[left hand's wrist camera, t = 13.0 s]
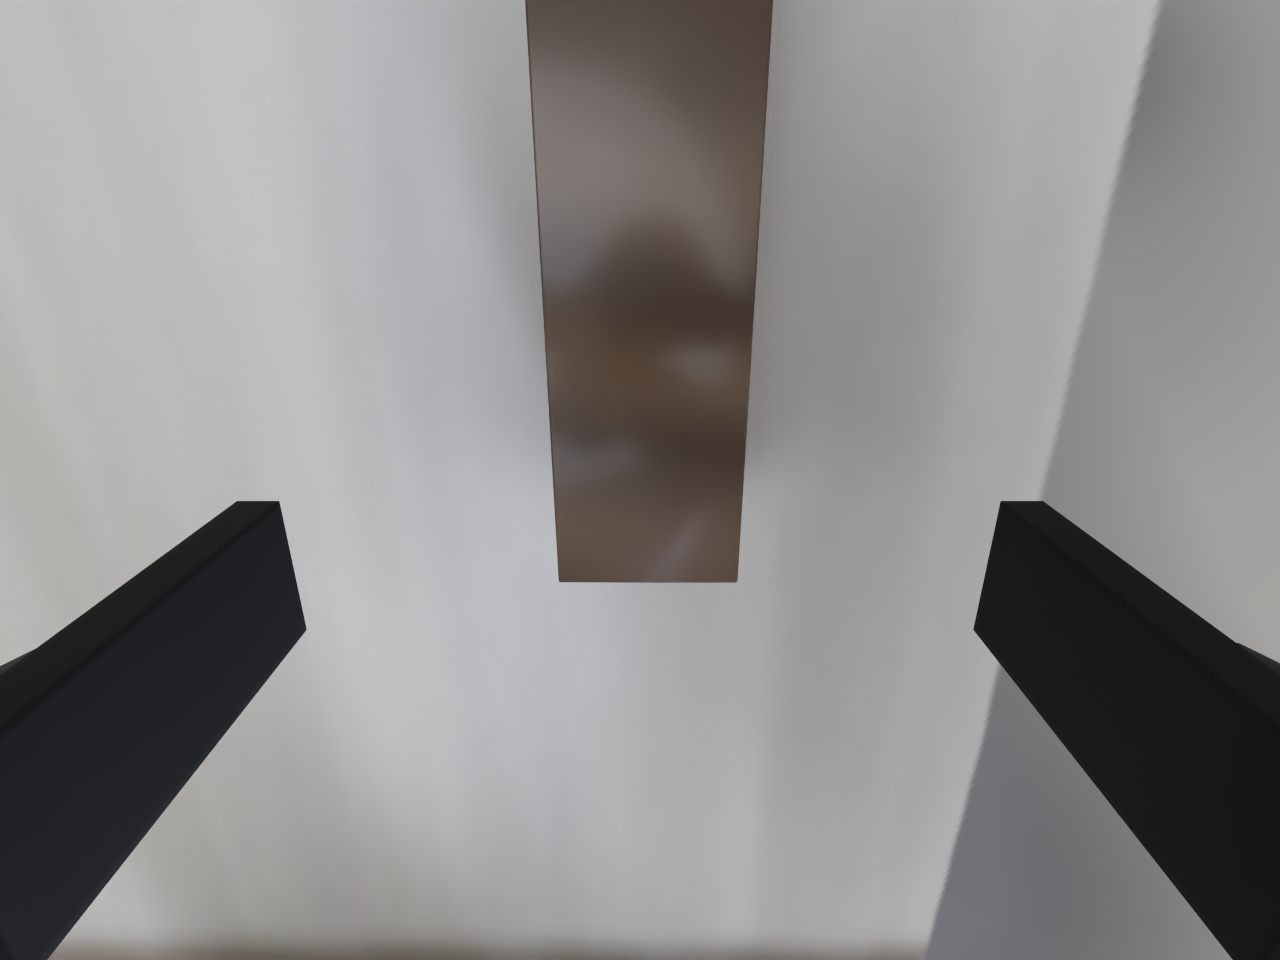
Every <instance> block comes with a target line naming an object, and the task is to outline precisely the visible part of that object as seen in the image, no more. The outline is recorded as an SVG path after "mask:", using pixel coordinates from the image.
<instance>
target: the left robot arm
mask: <svg viewBox="0 0 1280 960" xmlns="http://www.w3.org/2000/svg"><path fill="white" fill-rule="evenodd" d="M305 631H306V625H305V620H304V616H303V611H302V606H301V601H300V597H299V592H298V587H297V583H296V578H295V573H294V569H293V564H292V559H291V554H290V550H289V545H288V540H287V536H286V531H285V526H284V522H283V517H282V512H281V508H280V503H279V501H237V502H235V503H234V504H233V505H231V506H230V507H229V508H227V509H226V510H224V511H223V512H222V513H220V514H219V515H218V516H216V517H215V518H214V519H212V520H211V521H209V522H208V523H207V524H205V525H204V526H203V527H201V528H200V529H199V530H197V531H196V532H194V533H193V534H192V535H190V536H189V537H188V538H186V539H185V540H184V541H182V542H181V543H179V544H178V545H177V546H175V547H174V548H173V549H171V550H170V551H169V552H167V553H166V554H164V555H163V556H162V557H160V558H159V559H158V560H156V561H155V562H154V563H152V564H151V565H149V566H148V567H147V568H145V569H144V570H143V571H141V572H140V573H139V574H137V575H136V576H134V577H133V578H132V579H130V580H129V581H128V582H126V583H125V584H124V585H122V586H121V587H120V588H118V589H117V590H115V591H114V592H113V593H111V594H110V595H109V596H107V597H106V598H105V599H103V600H102V601H100V602H99V603H98V604H96V605H95V606H94V607H92V608H91V609H90V610H88V611H87V612H85V613H84V614H83V615H81V616H80V617H79V618H77V619H76V620H75V621H73V622H72V623H70V624H69V625H68V626H66V627H65V628H64V629H62V630H61V631H60V632H58V633H57V634H55V635H54V636H53V637H51V638H50V639H49V640H47V641H46V642H45V643H43V644H42V645H40V646H39V647H38V648H36V649H34V650H32V651H30V652H28V653H26V654H24V655H22V656H20V657H18V658H16V659H14V660H12V661H10V662H8V663H6V664H4V665H2V666H0V960H47V959H48V958H49V957H50V955H51V954H52V953H53V952H54V950H55V949H56V948H57V946H58V945H59V944H60V943H61V941H62V940H63V939H64V938H65V936H66V935H67V934H68V932H69V931H70V930H71V929H72V927H73V926H74V925H75V924H76V922H77V921H78V920H79V918H80V917H81V916H82V915H83V913H84V912H85V911H86V910H87V908H88V907H89V906H90V904H91V903H92V902H93V901H94V899H95V898H96V897H97V896H98V894H99V893H100V892H101V891H102V889H103V888H104V887H105V885H106V884H107V883H108V882H109V880H110V879H111V878H112V877H113V875H114V874H115V873H116V871H117V870H118V869H119V868H120V866H121V865H122V864H123V863H124V861H125V860H126V859H127V857H128V856H129V855H130V854H131V852H132V851H133V850H134V849H135V847H136V846H137V845H138V843H139V842H140V841H141V840H142V838H143V837H144V836H145V835H146V833H147V832H148V831H149V829H150V828H151V827H152V826H153V824H154V823H155V822H156V821H157V819H158V818H159V817H160V815H161V814H162V813H163V812H164V810H165V809H166V808H167V807H168V805H169V804H170V803H171V801H172V800H173V799H174V798H175V796H176V795H177V794H178V793H179V791H180V790H181V789H182V787H183V786H184V785H185V784H186V782H187V781H188V780H189V779H190V777H191V776H192V775H193V773H194V772H195V771H196V770H197V768H198V767H199V766H200V765H201V763H202V762H203V761H204V759H205V758H206V757H207V756H208V754H209V753H210V752H211V751H212V749H213V748H214V747H215V745H216V744H217V743H218V742H219V740H220V739H221V738H222V737H223V735H224V734H225V733H226V732H227V730H228V729H229V728H230V726H231V725H232V724H233V723H234V721H235V720H236V719H237V718H238V716H239V715H240V714H241V712H242V711H243V710H244V709H245V707H246V706H247V705H248V704H249V702H250V701H251V700H252V698H253V697H254V696H255V695H256V693H257V692H258V691H259V690H260V688H261V687H262V686H263V684H264V683H265V682H266V681H267V679H268V678H269V677H270V676H271V674H272V673H273V672H274V670H275V669H276V668H277V667H278V665H279V664H280V663H281V662H282V660H283V659H284V658H285V656H286V655H287V654H288V653H289V651H290V650H291V649H292V648H293V646H294V645H295V644H296V642H297V641H298V640H299V639H300V637H301V636H302V635H303V634H304V632H305ZM974 631H975V632H976V634H977V635H978V636H979V637H980V639H981V640H982V641H983V642H984V644H985V645H986V646H987V648H988V649H989V650H990V651H991V653H992V654H993V655H994V656H995V658H996V659H997V660H998V662H999V663H1000V664H1001V665H1002V667H1003V668H1004V669H1005V670H1006V672H1007V673H1008V674H1009V676H1010V677H1011V678H1012V679H1013V681H1014V682H1015V683H1016V684H1017V686H1018V687H1019V688H1020V689H1021V691H1022V692H1023V693H1024V695H1025V696H1026V697H1027V698H1028V700H1029V701H1030V702H1031V704H1032V705H1033V706H1034V707H1035V709H1036V710H1037V711H1038V712H1039V714H1040V715H1041V716H1042V717H1043V719H1044V720H1045V721H1046V723H1047V724H1048V725H1049V726H1050V728H1051V729H1052V730H1053V731H1054V733H1055V734H1056V735H1057V737H1058V738H1059V739H1060V740H1061V742H1062V743H1063V744H1064V745H1065V747H1066V748H1067V749H1068V751H1069V752H1070V753H1071V754H1072V756H1073V757H1074V758H1075V759H1076V761H1077V762H1078V763H1079V765H1080V766H1081V767H1082V768H1083V770H1084V771H1085V772H1086V773H1087V775H1088V776H1089V777H1090V779H1091V780H1092V781H1093V782H1094V784H1095V785H1096V786H1097V787H1098V789H1099V790H1100V791H1101V793H1102V794H1103V795H1104V796H1105V798H1106V799H1107V800H1108V801H1109V803H1110V804H1111V805H1112V807H1113V808H1114V809H1115V810H1116V812H1117V813H1118V814H1119V815H1120V817H1121V818H1122V819H1123V821H1124V822H1125V823H1126V824H1127V826H1128V827H1129V828H1130V829H1131V831H1132V832H1133V833H1134V835H1135V836H1136V837H1137V838H1138V840H1139V841H1140V842H1141V843H1142V845H1143V846H1144V847H1145V849H1146V850H1147V851H1148V852H1149V854H1150V855H1151V856H1152V857H1153V859H1154V860H1155V861H1156V863H1157V864H1158V865H1159V866H1160V868H1161V869H1162V870H1163V871H1164V873H1165V874H1166V875H1167V876H1168V878H1169V879H1170V880H1171V882H1172V883H1173V884H1174V885H1175V887H1176V888H1177V889H1178V890H1179V892H1180V893H1181V894H1182V896H1183V897H1184V898H1185V899H1186V901H1187V902H1188V903H1189V904H1190V906H1191V907H1192V908H1193V910H1194V911H1195V912H1196V913H1197V915H1198V916H1199V917H1200V918H1201V920H1202V921H1203V922H1204V924H1205V925H1206V926H1207V927H1208V929H1209V930H1210V931H1211V932H1212V934H1213V935H1214V936H1215V938H1216V939H1217V940H1218V941H1219V943H1220V944H1221V945H1222V946H1223V948H1224V949H1225V950H1226V952H1227V953H1228V954H1229V955H1230V957H1231V958H1232V959H1233V960H1280V663H1278V662H1276V661H1274V660H1272V659H1270V658H1268V657H1266V656H1264V655H1262V654H1260V653H1258V652H1256V651H1254V650H1252V649H1250V648H1248V647H1246V646H1243V645H1241V644H1239V643H1235V642H1234V641H1233V640H1231V639H1230V638H1229V637H1227V636H1226V635H1224V634H1223V633H1222V632H1220V631H1219V630H1218V629H1216V628H1215V627H1214V626H1212V625H1211V624H1209V623H1208V622H1207V621H1205V620H1204V619H1203V618H1201V617H1200V616H1199V615H1197V614H1196V613H1195V612H1193V611H1192V610H1190V609H1189V608H1188V607H1186V606H1185V605H1184V604H1182V603H1181V602H1180V601H1178V600H1177V599H1175V598H1174V597H1173V596H1171V595H1170V594H1169V593H1167V592H1166V591H1165V590H1163V589H1162V588H1160V587H1159V586H1158V585H1156V584H1155V583H1154V582H1152V581H1151V580H1150V579H1148V578H1147V577H1146V576H1144V575H1143V574H1141V573H1140V572H1139V571H1137V570H1136V569H1135V568H1133V567H1132V566H1131V565H1129V564H1128V563H1126V562H1125V561H1124V560H1122V559H1121V558H1120V557H1118V556H1117V555H1116V554H1114V553H1113V552H1111V551H1110V550H1109V549H1107V548H1106V547H1105V546H1103V545H1102V544H1101V543H1099V542H1098V541H1096V540H1095V539H1094V538H1092V537H1091V536H1090V535H1088V534H1087V533H1086V532H1084V531H1083V530H1081V529H1080V528H1079V527H1077V526H1076V525H1075V524H1073V523H1072V522H1071V521H1069V520H1068V519H1066V518H1065V517H1064V516H1062V515H1061V514H1060V513H1058V512H1057V511H1056V510H1054V509H1053V508H1051V507H1050V506H1049V505H1047V504H1046V503H1045V502H1043V501H1001V503H1000V508H999V512H998V517H997V522H996V526H995V531H994V536H993V540H992V545H991V550H990V554H989V559H988V564H987V569H986V573H985V578H984V583H983V587H982V592H981V597H980V601H979V606H978V611H977V616H976V620H975V625H974Z"/></svg>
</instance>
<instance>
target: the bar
mask: <svg viewBox="0 0 1280 960" xmlns="http://www.w3.org/2000/svg"><path fill="white" fill-rule="evenodd" d="M525 4H526V21H527V38H528V56H529V73H530V90H531V108H532V125H533V142H534V159H535V177H536V194H537V211H538V228H539V246H540V263H541V280H542V298H543V315H544V332H545V349H546V367H547V384H548V401H549V419H550V436H551V453H552V470H553V488H554V505H555V522H556V540H557V557H558V574H559V582H673V583H737V578H738V561H739V545H740V529H741V513H742V496H743V480H744V464H745V447H746V431H747V415H748V399H749V382H750V366H751V350H752V334H753V317H754V301H755V285H756V268H757V252H758V236H759V220H760V203H761V187H762V171H763V154H764V138H765V122H766V106H767V89H768V73H769V57H770V40H771V24H772V8H773V0H525Z"/></svg>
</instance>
